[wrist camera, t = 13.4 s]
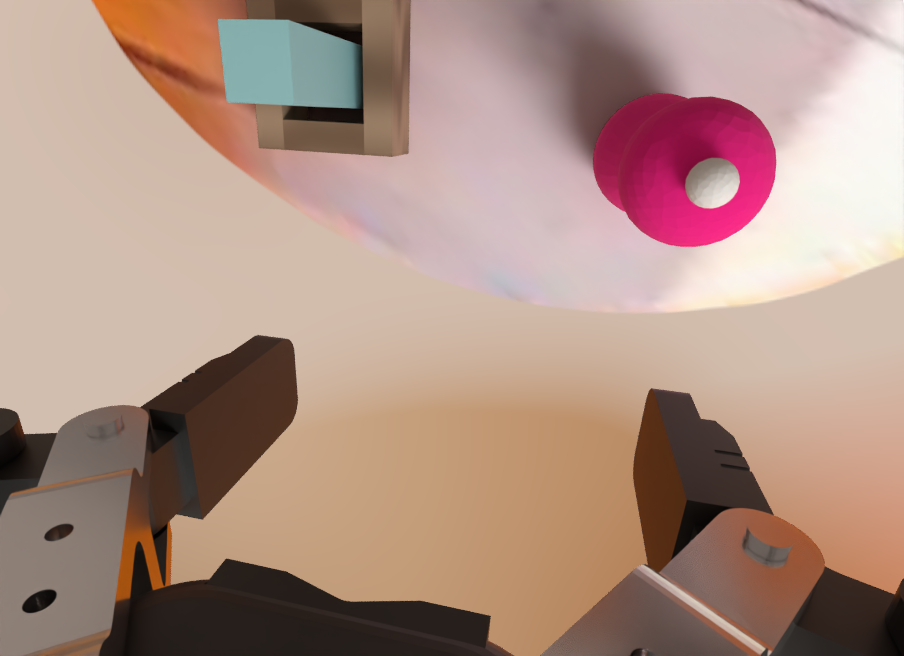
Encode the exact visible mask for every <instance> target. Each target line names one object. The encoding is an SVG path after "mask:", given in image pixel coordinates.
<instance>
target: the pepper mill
mask: <svg viewBox="0 0 904 656" xmlns="http://www.w3.org/2000/svg"><path fill="white" fill-rule="evenodd" d="M593 168H594V174H595V178H596V181H597V184H598V186H599V188H600V190H601V191H602V193H603V194H604V196H605V197H606V198H607V199H608V200H609V201H610V202H611V203H612V204H614V205H615V206H616V207H618V208H619V209H621V210H622V211H625V212H626V213H627V215H628V217H629V219H630V220H631V221H632V222H633V223H634V224H635V225H636V227H638V228H639V229H640V230H641V231H642V232H643V233H645V234H646V235H648V236H649V237H651V238H653V239H655V240H657V241H660V242H663V243H665V244H668V245H674V246H680V247H696V246H703V245H708V244H712V243H715V242H718V241H721V240H723V239H726V238H728V237H729V236H731V235H733V234H734V233H736V232H738V231H739V230H741V229H742V228H743V227H744V226H746V225H747V224H748V223H749V222H750V221H751V220H752V219H753V218H754V217H755V216H756V215H757V214H758V212H759V211H760V210H761V208H762V207H763V205H764V204H765V202H766V201H767V199H768V197H769V195H770V192H771V190H772V187H773V183H774V180H775V171H776V152H775V147H774V144H773V141H772V138H771V136H770V134H769V132H768V130H767V129H766V127H765V126H764V124H763V123H762V121H761V120H760V119H759V118H758V117H757V116H756V115H755V114H754V113H753V112H752V111H750V110H748V109H747V108H745V107H743V106H742V105H740V104H737V103H735V102H732V101H730V100H726V99H721V98H716V97H695V98H689V99H687V98H685V97H682V96H678V95H673V94H660V93H659V94H652V95H647V96H643V97H640V98H637V99H635V100H633V101H631V102H629V103H628V104H626V105H625V106H623V107H622V108H620V109H619V110H618V111H617V112H616V113H615V114H614V115H613V116H612V117H611V118H610V119H609V120H608V122H607V123H606V125H605V126H604V127H603V129H602V131H601V133H600V135H599V137H598V139H597V142H596V146H595V149H594V157H593Z"/></svg>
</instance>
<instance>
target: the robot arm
mask: <svg viewBox="0 0 904 656" xmlns="http://www.w3.org/2000/svg"><path fill="white" fill-rule="evenodd" d="M297 404H298V395H297V383H296V370H295V354H294V347H293V344H292V342H291V341H290V340H289V339H283V338H276V337H268V336H261V335H257V336H254V337H253V338H251V339H250V340H248V341H247V342H246V343H244V344H243V345H241V346H240V347H238V348H237V349H235V350H234V351H232V352H231V353H229V354H226V355H224V356H221V357H218V358H215V359H213V360H211V361H209V362H208V363H206V364H205V365H203V366H202V367H200V368H199V369H197V370H196V371H195V373H191V374H190V375H188V376H187V377H185V378H184V379H182V382H178V383H176V384H174V385H173V386H171V387H170V388H168V389H167V390H165V391H164V392H163V393H161V394H160V395H158V396H156V397H155V398H154V399H152V400H150V401H149V402H147V403H146V404H144V405H143V406H141V407H136V406H129V405H118V406H109V407H104V408H99V409H95V410H92V411H89V412H86V413H84V414H81V415H79V416H77V417H75V418H73V419H71V420H70V421H68V422H67V423H65V424H64V425H63V426H62V427H61V428H60V430H59V431H58V433H49V434H48V433H47V434H24V432H23V429H22V426H21V422H20V419H19V416H18V414H17V413H16V412H15V411H12V410H10V409H4V408H3V409H2V408H0V656H514V655H512V654H511V653H509V652H507V651H506V650H504V649H503V648H501V647H500V646H498V645H495V644H494V643H492V642H490V641H488V637H489V627H490V617H491V616H488V615H483V614H479V613H474V612H470V611H465V610H461V609H456V608H451V607H447V606H442V605H438V604H433V603H428V602H424V601H376V602H375V601H373V602H371V601H370V602H349V601H343V600H341V599H338V598H336V597H334V596H332V595H331V594H329V593H327V592H325V591H323V590H321V589H319V588H317V587H315V586H313V585H311V584H309V583H307V582H306V581H304V580H302V579H300V578H298V577H296V576H294V575H292V574H290V573H288V572H286V571H281V570H277V569H271V568H267V567H263V566H258V565H254V564H249V563H244V562H240V561H235V560H230V559H225V561H224V562H223V563H222V564H221V566H220V567H219V568H218V569H217V571H216V572H215V573H214V574H213V576H212V577H211V578H210V580H197V581H189V582H184V583H178V584H174V585H171V556H172V553H171V552H172V532H171V526H170V520H171V519H172V518H173V517H174V516H175V515H176V514H178V515H183V516H188V517H193V518H198V519H203V518H204V517H205V516H206V515H207V514H208V513H209V512H210V511H211V510H212V509H213V508H214V506H215V505H216V504H217V503H218V502H219V501H220V500H221V499H222V498H223V497H224V496H225V495H226V494H227V492H228V491H229V490H230V489H231V488H232V487H233V486H234V485H235V484H236V483H237V482H238V480H240V478H241V477H242V476H243V475H244V474H245V473H246V472H247V471H248V470H249V469H250V468H251V467H252V465H253V464H254V463H255V462H256V461H257V460H258V459H259V458H260V457H261V455H263V454H264V452H265V451H266V450H267V449H268V448H269V447H270V446H271V445H272V444H273V443H274V442H275V441H276V439H277V438H278V437H279V436H280V435H281V434H282V433H283V432H284V431H285V430H286V429H287V427H288V426H289V425H290V424H291V423H292V421H293V419H294V416H295V414H296V410H297ZM633 479H634V487H635V492H636V498H637V504H638V510H639V516H640V521H641V527H642V533H643V539H644V545H645V551H646V556H647V562H648V565H646V564H643V565H640V566H638V567H637V568H635V569H634V570H633V571H632V572H631V573H630V574H629V575H627V576H626V577H625V578H624V579H623V580H622V581H621V582H620V583H619V584H618V585H616V586H615V587H614V588H613V589H612V590H611V591H610V592H609V593H608V594H607V595H606V596H605V597H603V598H602V599H601V600H600V601H599V602H598V603H597V604H596V605H595V606H594V607H593V608H592V609H591V610H589V611H588V612H587V613H586V614H585V615H584V616H583V617H582V618H581V619H580V620H578V621H577V622H576V623H575V624H574V625H573V626H572V627H571V628H570V629H569V630H568V631H566V632H565V633H564V634H563V635H562V636H561V637H560V638H559V639H558V640H557V641H556V642H555V643H553V644H552V645H551V646H550V647H549V648H548V649H547V650H546V651H545V652H544V653H542V654H541V655H540V656H904V579H903V580H902V581H901V583H900V585H899V587H898V589H897V591H896V594H895V595H894V594H892V593H889V592H887V591H884V590H881V589H879V588H876V587H873V586H871V585H868V584H866V583H863V582H860V581H858V580H855V579H852V578H850V577H847V576H845V575H842V574H840V573H837V572H835V571H833V570H831V569H829V568H827V567H825V565H824V564H825V562H824V558H823V555H822V553H821V551H820V549H819V548H818V547H817V545H816V544H815V543H814V542H813V541H812V540H811V539H810V538H809V537H808V536H807V535H806V534H805V533H803V532H802V531H801V530H799V529H798V528H796V527H795V526H794V525H792V524H790V523H788V522H787V521H785V520H783V519H781V518H779V517H776V516H774V514H773V512H772V510H771V508H770V506H769V505H768V503H767V501H766V499H765V497H764V495H763V493H762V491H761V489H760V487H759V485H758V483H757V481H756V479H755V477H754V475H753V473H752V472H750V468H749V466H748V464H747V462H746V460H745V458H744V457H742V452H741V450H740V448H739V446H738V444H737V442H736V440H735V438H734V437H733V436H732V435H731V434H730V433H729V432H728V431H726V430H725V429H724V428H723V427H722V426H720V425H719V424H718V423H717V422H716V421H712V420H705V419H701V418H700V416H699V414H698V411H697V409H696V407H695V404H694V402H693V400H692V397H691V395H690V394H688V393H681V392H674V391H667V390H659V389H650V390H649V393H648V395H647V399H646V403H645V408H644V413H643V417H642V422H641V427H640V432H639V436H638V442H637V446H636V451H635V457H634V467H633Z"/></svg>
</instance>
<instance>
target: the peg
mask: <svg viewBox="0 0 904 656" xmlns="http://www.w3.org/2000/svg"><path fill="white" fill-rule="evenodd" d="M218 27H219V36H220V45H221V54H222V63H223V72H224V81H225V90H226V99H227V102H231V103H250V104H270V105H289V106H309V107H330V108H354V109H364V102H363V46H361V45H358V44H355V43H352V42H350V41H347V40H344V39H341V38H338V37H335V36H333V35H330V34H327V33H324V32H321V31H318V30H316V29H313V28H310V27H307V26H304V25H301V24H299V23H296V22H293V21H290V20H257V19H218Z"/></svg>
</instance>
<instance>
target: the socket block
mask: <svg viewBox="0 0 904 656" xmlns="http://www.w3.org/2000/svg"><path fill="white" fill-rule="evenodd" d="M410 1H411V0H246V5H247V16H248V19H257V20H290V21H293V22H296V23H299V24H301V25H304V26H307V27H310V28H313V29H316V30H318V31H333V32H362V40H363V102H364V123H361V122H342V121H324V120H309V119H308V106H289V105H270V104H255V107H256V119H257V130H258V142H259V148H266V149H281V150H296V151H312V152H327V153H342V154H358V155H373V156H388V157H393V156H398V155H403V154H408V145H409V73H410Z"/></svg>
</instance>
